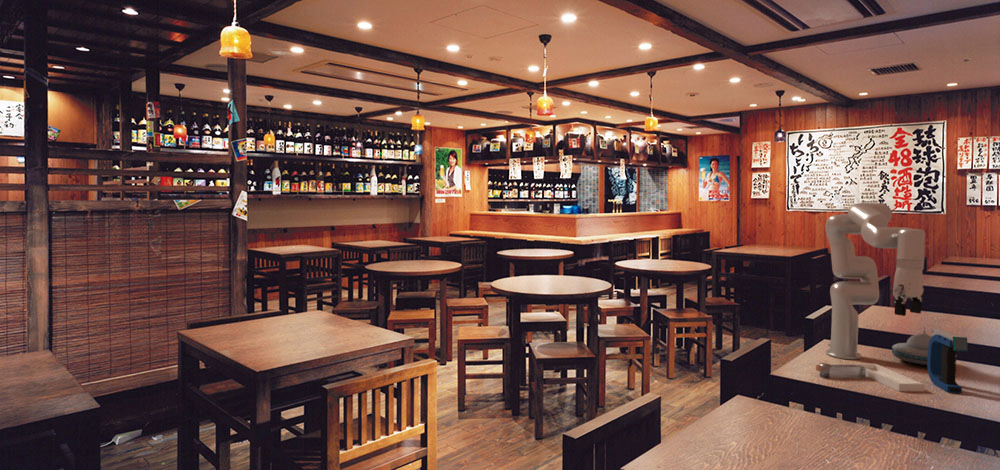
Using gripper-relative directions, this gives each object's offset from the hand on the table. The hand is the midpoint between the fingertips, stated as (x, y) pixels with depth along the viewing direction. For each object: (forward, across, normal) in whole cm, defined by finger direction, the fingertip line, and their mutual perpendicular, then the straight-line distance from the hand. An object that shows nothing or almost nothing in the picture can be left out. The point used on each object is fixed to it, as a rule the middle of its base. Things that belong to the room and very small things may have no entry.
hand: (907, 313), depth 185 cm
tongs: (+26, +7, -18) cm, 33 cm away
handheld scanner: (+26, -14, +6) cm, 30 cm away
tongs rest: (+26, -4, -8) cm, 28 cm away
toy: (+26, -40, -13) cm, 50 cm away
